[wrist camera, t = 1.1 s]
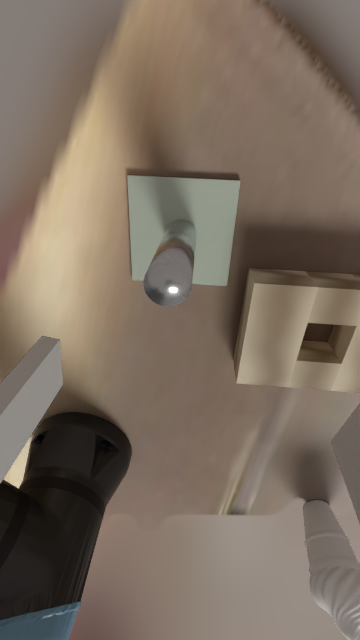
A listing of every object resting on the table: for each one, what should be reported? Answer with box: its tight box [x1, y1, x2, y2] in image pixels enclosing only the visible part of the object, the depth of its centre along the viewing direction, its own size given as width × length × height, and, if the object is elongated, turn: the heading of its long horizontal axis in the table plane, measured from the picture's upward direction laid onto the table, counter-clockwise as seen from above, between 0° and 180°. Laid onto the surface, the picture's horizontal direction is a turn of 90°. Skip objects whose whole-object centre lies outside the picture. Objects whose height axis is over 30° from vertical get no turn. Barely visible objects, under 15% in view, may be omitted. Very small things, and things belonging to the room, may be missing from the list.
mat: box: [127, 175, 240, 286], centre depth 29 cm, size 10×10×1 cm
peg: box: [143, 219, 197, 306], centre depth 23 cm, size 3×3×12 cm
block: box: [233, 268, 360, 393], centre depth 31 cm, size 16×12×4 cm
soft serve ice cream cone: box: [303, 500, 360, 640], centre depth 44 cm, size 8×8×16 cm
